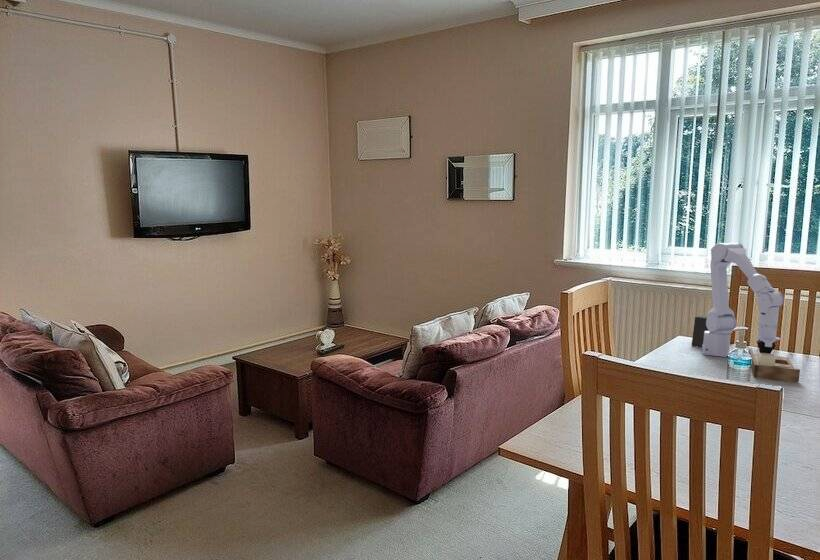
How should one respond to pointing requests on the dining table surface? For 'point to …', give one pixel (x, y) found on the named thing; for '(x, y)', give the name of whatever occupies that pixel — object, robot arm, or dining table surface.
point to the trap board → (774, 369)
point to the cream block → (766, 359)
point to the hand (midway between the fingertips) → (764, 361)
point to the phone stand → (699, 331)
